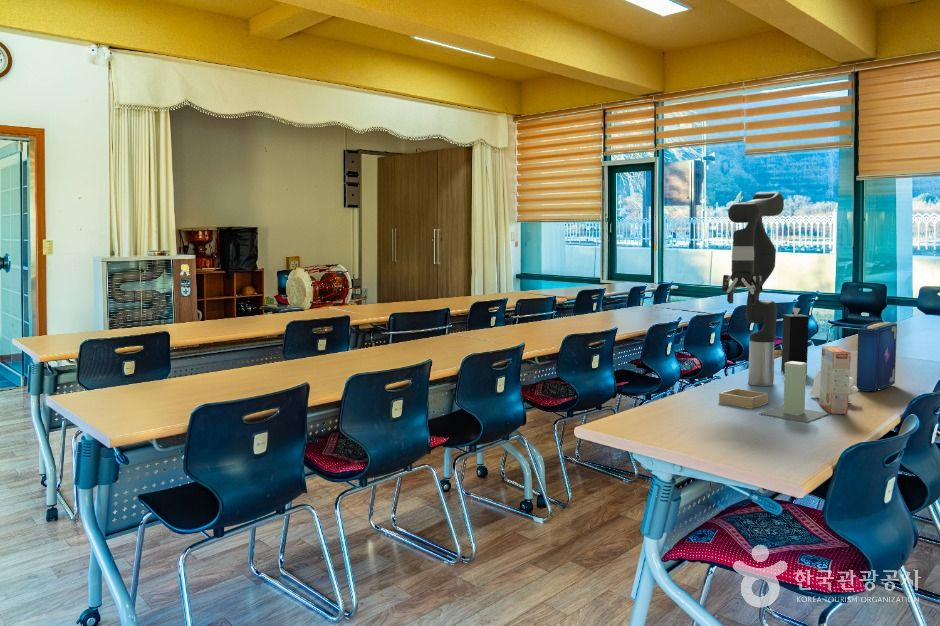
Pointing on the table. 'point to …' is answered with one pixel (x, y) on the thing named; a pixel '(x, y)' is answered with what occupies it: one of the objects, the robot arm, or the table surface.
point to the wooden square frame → (743, 398)
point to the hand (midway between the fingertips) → (741, 304)
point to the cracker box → (835, 379)
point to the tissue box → (794, 338)
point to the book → (876, 356)
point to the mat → (805, 417)
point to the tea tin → (794, 388)
